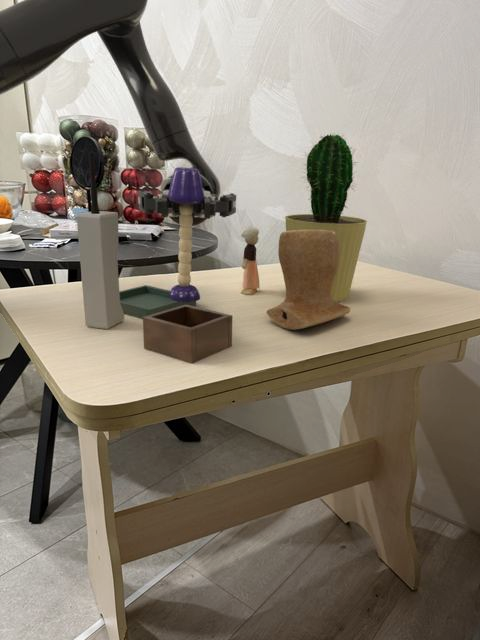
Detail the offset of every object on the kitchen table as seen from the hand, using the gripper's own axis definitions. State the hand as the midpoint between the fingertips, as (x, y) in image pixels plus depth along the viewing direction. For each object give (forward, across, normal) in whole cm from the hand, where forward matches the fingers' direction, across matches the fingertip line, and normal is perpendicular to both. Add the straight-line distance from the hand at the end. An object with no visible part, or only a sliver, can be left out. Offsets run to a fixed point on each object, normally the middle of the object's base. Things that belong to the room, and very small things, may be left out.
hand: (186, 209), depth 63 cm
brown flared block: (-15, +19, +19) cm, 31 cm away
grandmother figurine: (-35, +12, +19) cm, 41 cm away
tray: (-23, -7, +19) cm, 31 cm away
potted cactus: (-32, +25, +19) cm, 45 cm away
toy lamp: (-3, 0, +12) cm, 12 cm away
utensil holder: (-13, -13, +19) cm, 27 cm away
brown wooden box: (-2, 0, +19) cm, 19 cm away
